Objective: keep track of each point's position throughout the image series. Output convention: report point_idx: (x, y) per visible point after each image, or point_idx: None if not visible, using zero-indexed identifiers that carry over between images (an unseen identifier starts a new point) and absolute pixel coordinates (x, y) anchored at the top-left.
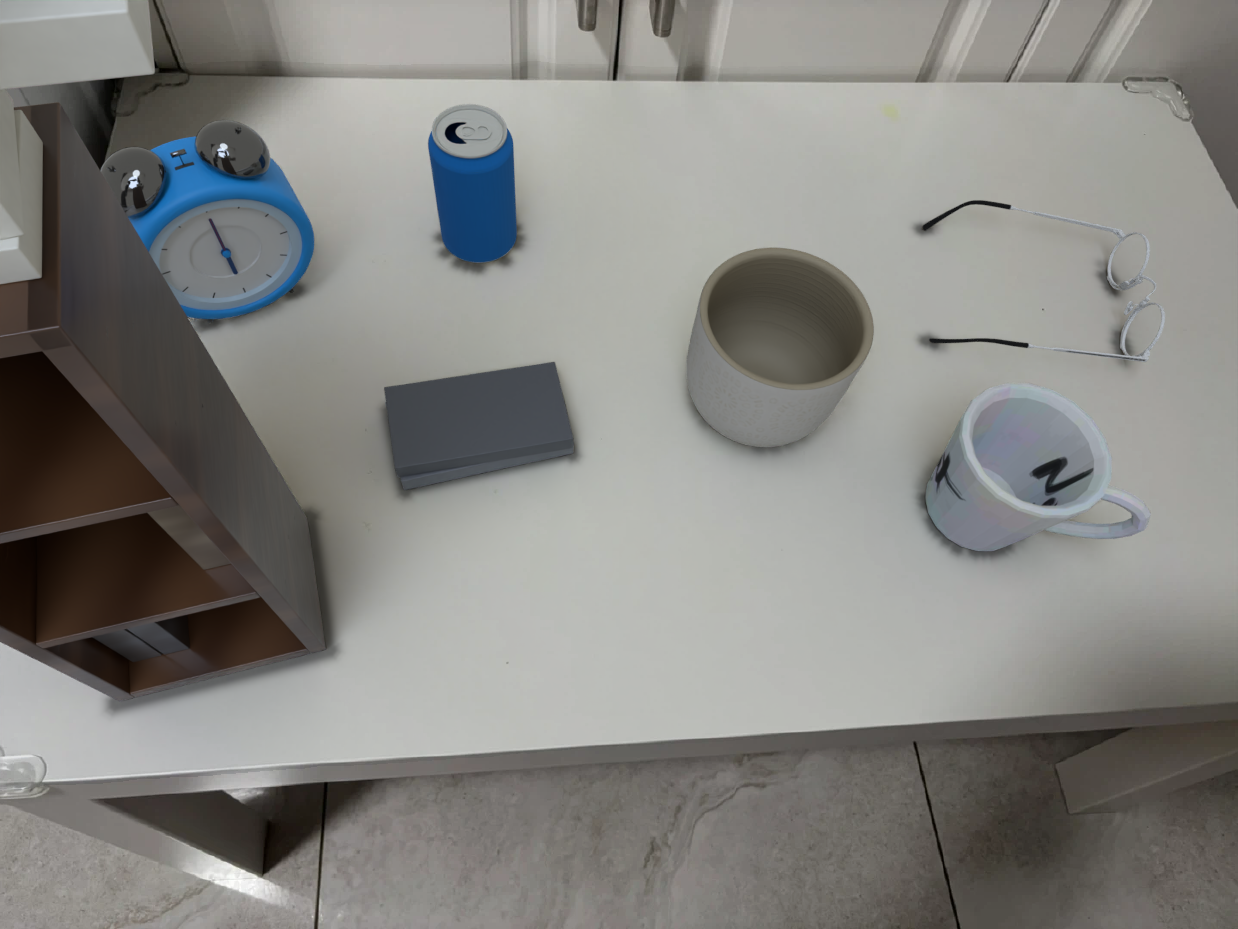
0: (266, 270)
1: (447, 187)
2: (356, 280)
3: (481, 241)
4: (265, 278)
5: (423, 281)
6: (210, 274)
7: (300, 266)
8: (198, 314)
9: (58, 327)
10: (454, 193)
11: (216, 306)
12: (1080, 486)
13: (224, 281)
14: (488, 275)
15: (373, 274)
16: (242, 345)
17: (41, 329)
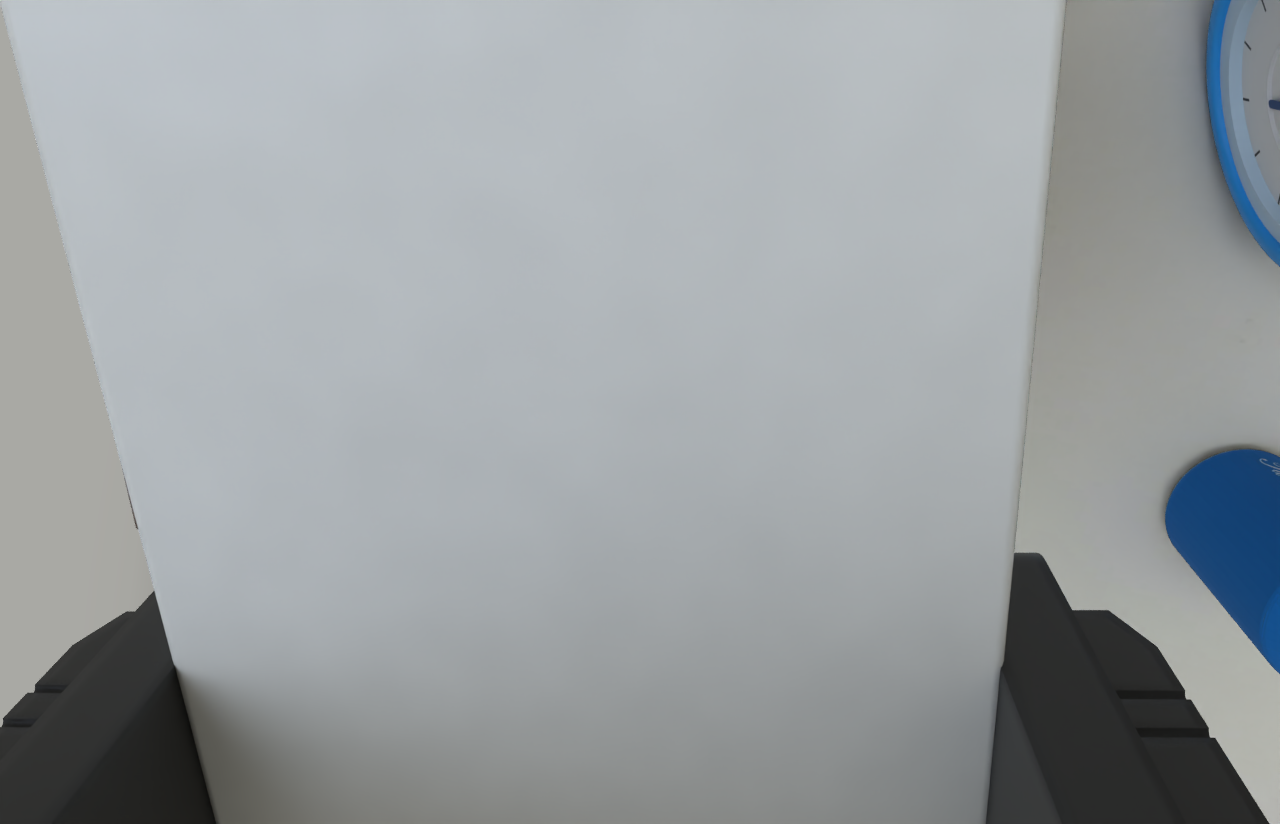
0: (1264, 155)
1: (1275, 545)
2: (1216, 286)
3: (1188, 529)
4: (1254, 145)
5: (1170, 397)
6: (1278, 59)
7: (1249, 219)
8: (1216, 9)
9: (136, 526)
10: (1259, 550)
11: (1225, 43)
12: None
13: (1262, 76)
14: (1143, 500)
15: (1219, 317)
16: (1139, 69)
17: (129, 498)
